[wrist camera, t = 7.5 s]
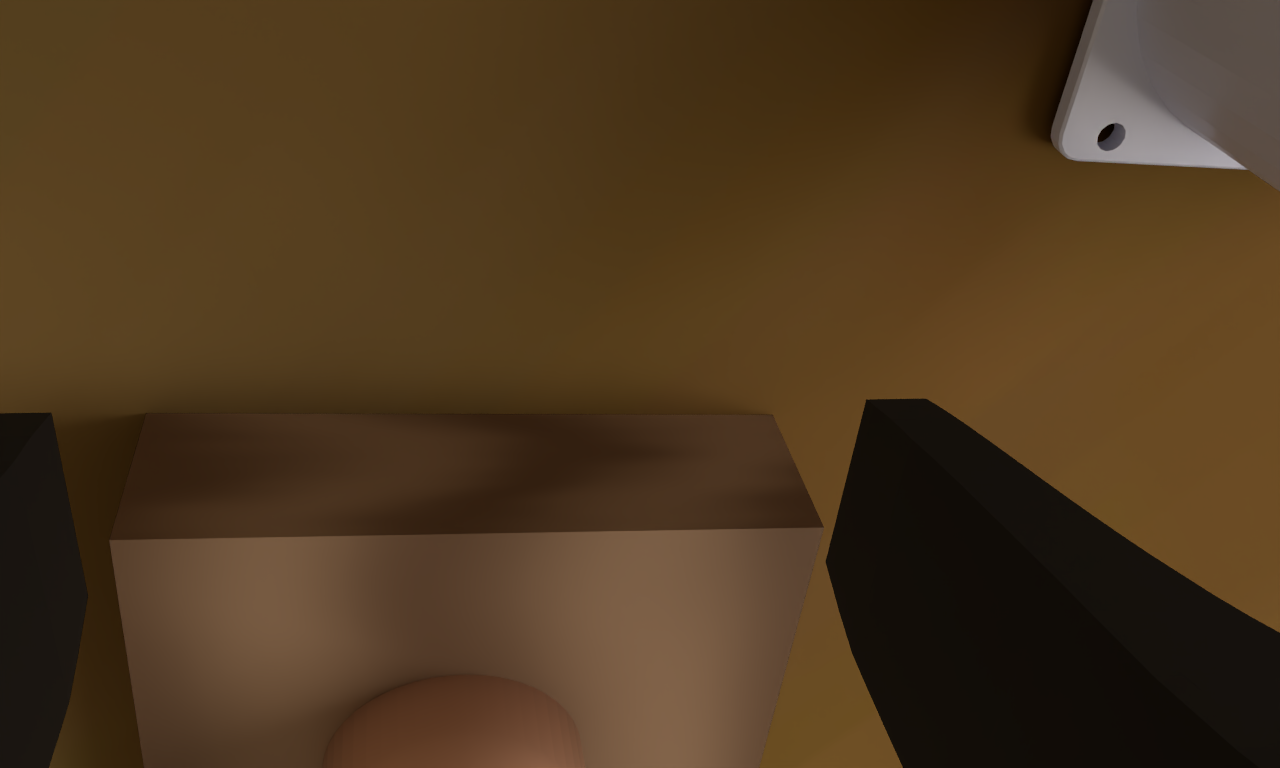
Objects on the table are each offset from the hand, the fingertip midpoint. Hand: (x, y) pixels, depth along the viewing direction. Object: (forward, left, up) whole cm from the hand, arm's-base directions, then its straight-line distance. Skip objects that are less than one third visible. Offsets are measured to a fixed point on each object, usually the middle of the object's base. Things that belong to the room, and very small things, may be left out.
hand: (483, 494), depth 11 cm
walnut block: (-1, +12, -11) cm, 17 cm away
